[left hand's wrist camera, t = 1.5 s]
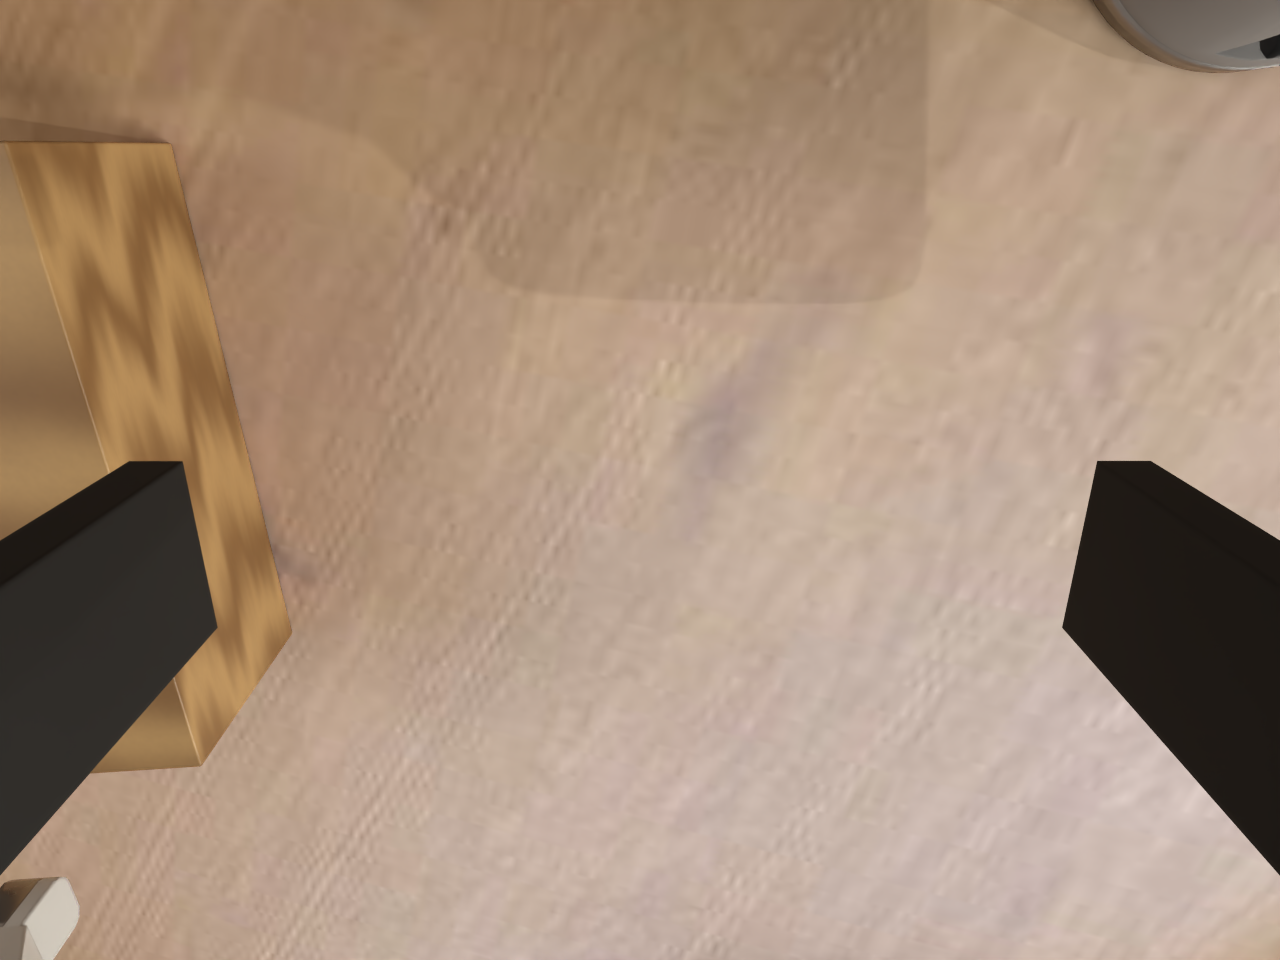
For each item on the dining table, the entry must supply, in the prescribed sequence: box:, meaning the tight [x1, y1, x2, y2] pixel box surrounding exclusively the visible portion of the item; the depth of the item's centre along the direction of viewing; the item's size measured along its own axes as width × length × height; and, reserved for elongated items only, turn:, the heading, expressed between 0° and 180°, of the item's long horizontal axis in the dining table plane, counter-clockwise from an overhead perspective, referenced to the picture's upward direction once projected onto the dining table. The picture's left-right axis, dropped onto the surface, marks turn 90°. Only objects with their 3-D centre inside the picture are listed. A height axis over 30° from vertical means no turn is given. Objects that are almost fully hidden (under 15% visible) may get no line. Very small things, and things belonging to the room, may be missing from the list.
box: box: [0, 141, 292, 773], centre depth 35 cm, size 24×6×10 cm, turn 4°
